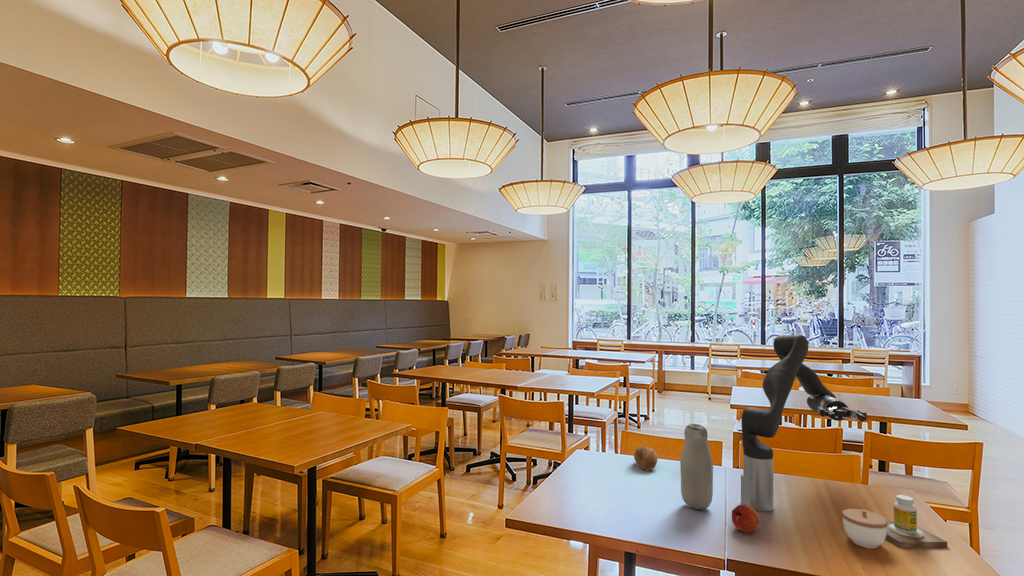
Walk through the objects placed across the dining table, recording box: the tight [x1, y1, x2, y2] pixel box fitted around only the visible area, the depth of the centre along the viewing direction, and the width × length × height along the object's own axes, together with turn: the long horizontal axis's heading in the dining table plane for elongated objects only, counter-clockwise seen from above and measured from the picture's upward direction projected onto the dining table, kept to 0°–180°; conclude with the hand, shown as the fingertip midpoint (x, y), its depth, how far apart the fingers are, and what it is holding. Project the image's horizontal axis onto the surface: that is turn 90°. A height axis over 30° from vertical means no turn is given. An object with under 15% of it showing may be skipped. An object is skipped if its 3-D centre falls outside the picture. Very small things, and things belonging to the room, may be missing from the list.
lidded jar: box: [841, 508, 888, 549], centre depth 140 cm, size 11×11×9 cm
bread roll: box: [633, 446, 658, 471], centre depth 205 cm, size 10×15×8 cm, turn 169°
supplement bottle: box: [893, 494, 918, 533], centre depth 145 cm, size 5×5×10 cm
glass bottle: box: [679, 423, 714, 511], centre depth 164 cm, size 10×10×28 cm
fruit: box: [731, 503, 761, 534], centre depth 147 cm, size 8×8×8 cm
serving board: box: [885, 520, 948, 548], centre depth 145 cm, size 14×13×2 cm
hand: (848, 417), depth 169 cm, fingers open, 8 cm apart
